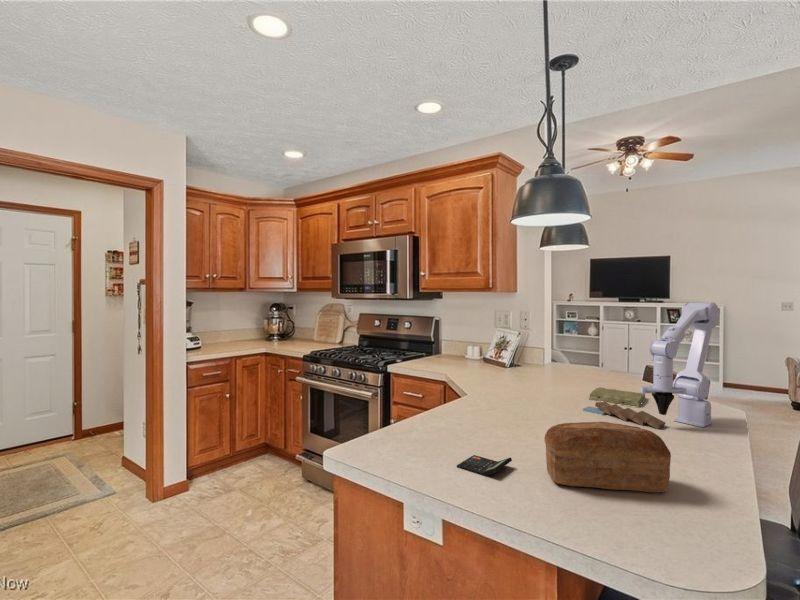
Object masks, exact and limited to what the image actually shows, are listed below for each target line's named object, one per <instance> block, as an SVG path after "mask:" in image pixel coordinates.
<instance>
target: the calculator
mask: <svg viewBox="0 0 800 600" xmlns="http://www.w3.org/2000/svg"><path fill="white" fill-rule="evenodd" d="M512 461H513V459H512V457H508V458H505V459H502V460H499V461H497V460H493V459H490V458H486V457H484V456H483V457H482V456H480V455H479V456H478V455H475V454H473V455H471V456H470V457H468V458H467V459H465V460H463V461H462V462H460V463H458V464H457V465H456V468H458V469H460V470H464V471H468V472H470V473H474V474H476V475H480V476H487V475H491V474H494V473H497V472H499V471H500V470H501V469H503V468H504V467H506V466H507V465H508V464H510V463H511V462H512Z"/></svg>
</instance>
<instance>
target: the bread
mask: <svg viewBox="0 0 800 600" xmlns="http://www.w3.org/2000/svg"><path fill="white" fill-rule="evenodd" d="M544 443H545V444H544V445H545V456H546V460H545V461H546V470H547V474H548V475H549V477H550V478H551V479H552V480H553V481H554V482H555V483H556V484H558V485H562V486H569V487H583V488H584V487H585V488H598V489H606V490H624V491H637V492H638V491H639V492H644V493H645V492H647V493H663V492H666V491H668V490H669V484H670V478H671V458H672V454H671V451H670V449H669V448H668V446H667V444H666V443H665V441H663V439H662V438H661V436H659V435H658V434H656V433H655V432H653V431H651V430H649V429H645V428H641V427H639V426H633V425H628V424H622V423H621V424H620V423H613V422H608V421H607V422H606V421H594V422H593V421H592V422H591V421H589V422H587V421H585V422H582V421H581V422H564V423H559V424H556V425H552V426H551V427H549V428H548V429H547V431H546V432H545V434H544Z"/></svg>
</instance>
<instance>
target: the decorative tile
mask: <svg viewBox="0 0 800 600" xmlns="http://www.w3.org/2000/svg"><path fill="white" fill-rule="evenodd" d="M644 399H645V400H646V394H643V393H640V392H635V391H627V390H619V389H613V388H605V387H596V388H595V389H594V390H592V391H591V392H590V394H589V397H588V400H589V401H593V400H594V401H595V402H601V401H603V402H606V403H607V402H609V403H608V404H612V403H613V404H612V405H617V404H621V405H620V406H624V405H630V406H629V407H631V406H637V407H636V408H638V407H639V406H640V405H641V406H642V404H643V403H644V402H643V401H645V400H644ZM642 402H643V403H642ZM641 403H642V404H641ZM641 406H640V407H641ZM640 407H639V408H640Z"/></svg>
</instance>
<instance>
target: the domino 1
mask: <svg viewBox="0 0 800 600" xmlns="http://www.w3.org/2000/svg"><path fill="white" fill-rule="evenodd" d="M582 411H583V412H588V413H591V414H595V413H596V414H595V415H599V414H601V415H600V416H604V415H607V413H606V412H604V411H602V410H601V409H599V408H598V407H595V406H586V407H584V408H582Z"/></svg>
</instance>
